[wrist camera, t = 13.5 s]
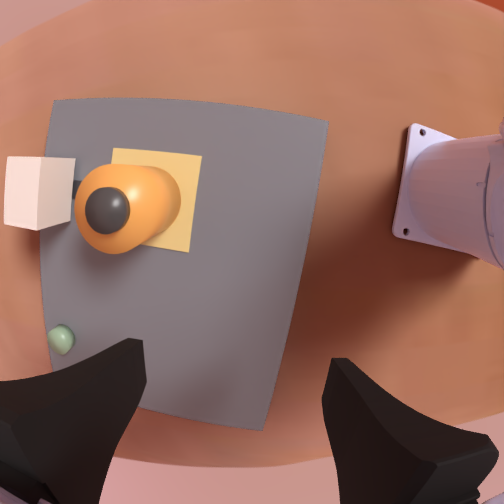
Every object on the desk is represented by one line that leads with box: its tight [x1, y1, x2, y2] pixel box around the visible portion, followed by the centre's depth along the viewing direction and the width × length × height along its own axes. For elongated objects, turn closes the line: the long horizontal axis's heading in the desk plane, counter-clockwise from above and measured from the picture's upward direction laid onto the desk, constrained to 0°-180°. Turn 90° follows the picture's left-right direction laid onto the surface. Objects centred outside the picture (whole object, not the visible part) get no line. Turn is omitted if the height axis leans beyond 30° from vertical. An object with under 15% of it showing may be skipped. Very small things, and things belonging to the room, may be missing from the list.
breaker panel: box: [40, 98, 329, 431], centre depth 19 cm, size 18×22×4 cm
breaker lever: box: [4, 157, 76, 231], centre depth 15 cm, size 3×4×4 cm
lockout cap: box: [74, 164, 181, 254], centre depth 15 cm, size 4×4×6 cm
